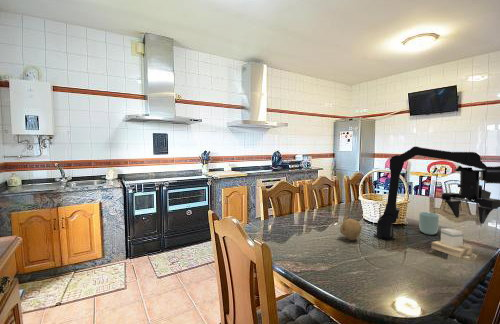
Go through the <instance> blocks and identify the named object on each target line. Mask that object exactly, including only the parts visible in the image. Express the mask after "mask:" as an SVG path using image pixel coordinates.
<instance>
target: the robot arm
mask: <svg viewBox="0 0 500 324" xmlns="http://www.w3.org/2000/svg"><path fill="white" fill-rule="evenodd" d="M416 156H421V157H427V158H433V159H439V160H447V161H450V162H454V163H457V164H461V165H458V166H457V167H456V168H454V169H453V171H455V172H459V173H460V174H459V175H460V176H459V178H460V179H459V184H457V188H459V193H457V192H456V193H455V192H443V193H442V194H441V200H444V202H445V203H446V204H447V205H448V207H449V208H450V210H451V211H452V213H453V215H454V217H455V218H456V219H459V217H460V204H461V203H462V201H463V202H468V203H469V202H470V203H474V204H475V203H476V204H478V205H479V206H478V207H477V210H478V218H479V222H480V224H485V222H486V220H487V218H488V217H489V215H490V213H491V212H492V211H494V210H497V209H498V208H500V199H499V198H498V199H497V198H491V194H492V192H491V191H488V190H486V189H483V186H482V185H481V184H480V181H483V182H484V184H499V185H500V165H498V166H497V165H496V166H487V165H486V164H485V163H484V161H482V157H481V156H480V154H479V153H477V152H474V151H449V150H441V149H433V148H427V147H421V146H412V147H411V148H410V149H408V150H407V151H405V152H402V153H401V154H396V155H393V156H391V157H390V158H389V170H390V179H389V186H388V193H387V201H386V202H387V203H386V205H385V208H384V212H383V214H381V216H379V217H378V219H377V224H376V233H375V234H374V237H376V238H378V239H381V240H383V241H389V240H396V237H394V224H395V223H396V222H397V220H399V217H400V215H399V214H400V212H401V211H400V210H401V208H400V207H397V202H398V201H397V200H398V199H397V198H398V192H399V185H400V176H401V172H402V170H403V167H404V164H405V163H406V162H408V161H409V160H411V159H413V158H414V157H416ZM462 165H463V166H462ZM464 166H466V167H464ZM467 166H468V167H467ZM473 168H475V169H473Z"/></svg>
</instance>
